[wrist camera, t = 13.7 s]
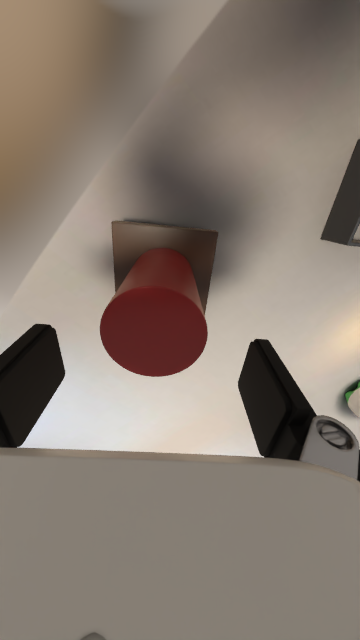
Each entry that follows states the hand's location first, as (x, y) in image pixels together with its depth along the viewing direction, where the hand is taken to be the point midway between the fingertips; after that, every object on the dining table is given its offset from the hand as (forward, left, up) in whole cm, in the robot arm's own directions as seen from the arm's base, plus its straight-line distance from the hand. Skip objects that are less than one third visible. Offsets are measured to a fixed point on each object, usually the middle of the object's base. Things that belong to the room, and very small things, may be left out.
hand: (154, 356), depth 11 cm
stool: (0, 0, -18) cm, 18 cm away
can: (0, 0, -13) cm, 13 cm away
